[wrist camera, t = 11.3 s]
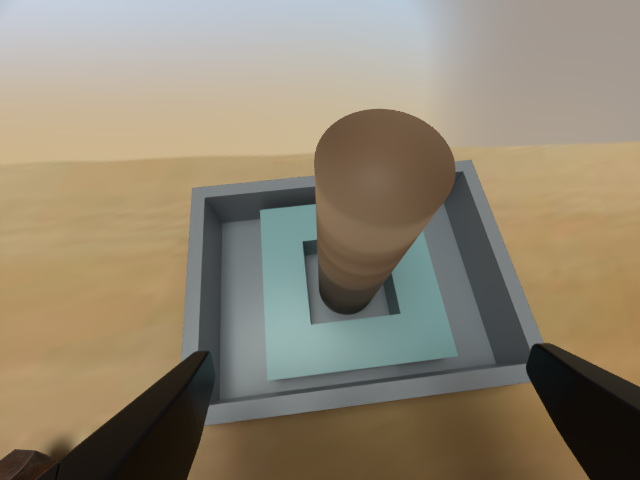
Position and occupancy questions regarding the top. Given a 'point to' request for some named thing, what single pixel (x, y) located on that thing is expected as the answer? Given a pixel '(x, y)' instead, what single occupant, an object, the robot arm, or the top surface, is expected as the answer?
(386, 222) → the peg
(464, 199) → the rim box
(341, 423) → the top surface
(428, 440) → the top surface
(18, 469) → the bolt
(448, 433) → the top surface
